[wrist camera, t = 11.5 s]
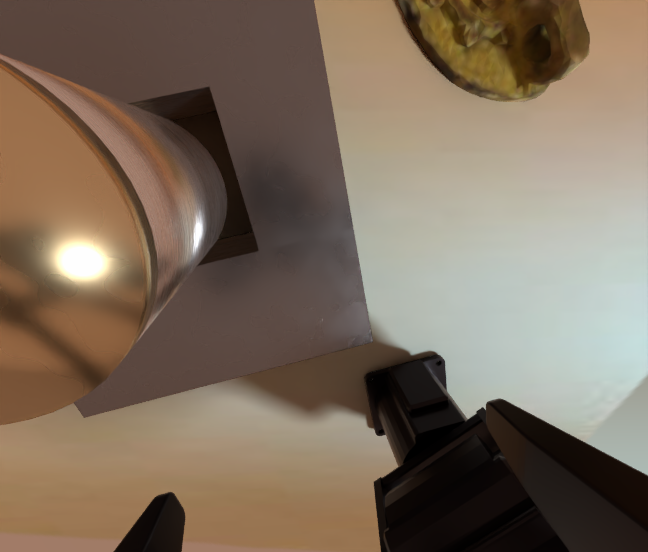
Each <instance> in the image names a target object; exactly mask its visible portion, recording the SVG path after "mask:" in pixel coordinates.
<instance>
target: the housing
mask: <svg viewBox="0 0 648 552" xmlns="http://www.w3.org/2000/svg"><path fill="white" fill-rule="evenodd" d="M0 54H2V55H4V56H7V57H9V58H12V59H14V60H17V61H20V62H22V63H25V64H27V65H30V66H32V67H35V68H37V69H40V70H43V71H45V72H48V73H50V74H53V75H55V76H58V77H61V78H63V79H66V80H68V81H71V82H73V83H76V84H79V85H81V86H84V87H86V88H89V89H91V90H94V91H97V92H99V93H102V94H104V95H107V96H109V97H112V98H115V99H117V100H120V101H122V102H125V103H127V104H130V105H133V106H135V107H138V108H140V109H143V110H145V111H148V112H150V113H153V114H156V115H158V116H161V117H163V118H165V119H168V120H170V121H171V120H175V119H180V118H185V117H190V116H194V115H199V114H204V113H208V112H213V111H217V113H218V116H219V120H220V123H221V126H222V130H223V133H224V136H225V139H226V143H227V146H228V149H229V153H230V156H231V159H232V163H233V166H234V169H235V173H236V176H237V179H238V182H239V186H240V189H241V192H242V196H243V199H244V202H245V206H246V209H247V212H248V216H249V219H250V222H251V226H252V229H253V232H250V233H246V234H242V235H237V236H233V237H229V238H225V239H220V240H217V241H216V242H215V244H214V245H213V246H212V248H211V249H210V250H209V251H208V253H207V254H206V255H205V256H204V258H203V259H202V260H201V262H200V263H199V264H198V265H197V267H196V268H195V269H194V270H193V272H192V273H191V274H190V275H189V277H188V278H187V279H186V280H185V282H184V283H183V284H182V286H181V287H180V288H179V289H178V291H177V292H176V293H175V294H174V296H173V297H172V298H171V299H170V301H169V302H168V303H167V305H166V306H165V307H164V308H163V310H162V311H161V312H160V313H159V315H158V316H157V317H156V318H155V320H154V321H153V322H152V323H151V325H150V326H149V327H148V329H147V330H146V331H145V332H144V334H143V335H142V336H141V337H140V339H139V340H138V341H137V342H136V344H135V345H134V346H133V347H132V349H131V350H130V351H129V353H128V354H127V355H126V356H125V358H124V359H123V360H122V361H121V363H120V364H119V365H118V366H117V367H116V368H115V370H114V371H113V372H112V373H111V374H110V375H109V376H108V377H107V379H106V380H104V381H103V382H102V383H101V384H100V385H98V386H97V387H96V388H95V389H94V390H92V391H91V392H90V393H88V394H87V395H85V396H83V397H82V398H80V399H78V400H77V401H75V402H74V404H75V405H76V407H77V408H78V410H79V411H80V412H81V414H82V415H83V417H84V418H85V417H88V416H92V415H96V414H100V413H104V412H107V411H111V410H115V409H119V408H123V407H126V406H130V405H134V404H138V403H142V402H146V401H149V400H153V399H157V398H161V397H165V396H168V395H172V394H176V393H180V392H184V391H188V390H191V389H195V388H199V387H203V386H207V385H210V384H214V383H218V382H222V381H226V380H229V379H233V378H237V377H241V376H245V375H249V374H252V373H256V372H260V371H264V370H268V369H271V368H275V367H279V366H283V365H287V364H291V363H294V362H298V361H302V360H306V359H310V358H313V357H317V356H321V355H325V354H329V353H332V352H336V351H340V350H344V349H348V348H352V347H355V346H359V345H363V344H367V343H371V342H373V340H372V334H371V328H370V322H369V316H368V311H367V305H366V299H365V293H364V287H363V282H362V276H361V270H360V264H359V258H358V253H357V247H356V241H355V235H354V230H353V224H352V218H351V212H350V206H349V201H348V195H347V189H346V183H345V177H344V172H343V166H342V160H341V154H340V148H339V143H338V137H337V131H336V125H335V120H334V114H333V108H332V102H331V96H330V91H329V85H328V79H327V73H326V67H325V62H324V56H323V50H322V44H321V39H320V33H319V27H318V21H317V15H316V10H315V4H314V0H0Z"/></svg>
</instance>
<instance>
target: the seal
mask: <svg viewBox="0 0 648 552" xmlns="http://www.w3.org/2000/svg"><path fill="white" fill-rule="evenodd" d="M398 1H399V4H400V7H401V10H402V11H403V14H404V17H405V20H406V21H407V23H408V24H409V26H410V28H411V31H412V33H413V34H414V36H415V37H416V38H417V39H418V40H419V42H420V44H421V45H422V47H423V49H424V50H425V52H426V53H427V55H428V56H429V58H430V59H431V60H432V62H433V63H434V64H435V65H436V66H437V67H438V68H439V69H440V70H441V72H442V73H443V74H444V75H445V76H446V77H447V78H448V79H449V81H451V82H452V83H454V84H455V85H457V86H458V87H460V88H462V89H464V90H465V91H467V92H469V93H471V94H474V95H477V96H479V97H484V98H487V99H490V100H495V101H503V102H522V101H527V100H530V99H533V98H536V97H538V96H540V95H541V94H542V93H543V92H545V90H546V89H547V87H548V86H549V85H550V83H553V82H555V81H558V80H561V79H563V78H565V77H566V76H567V75H568V74H570V73H571V72H572V71H573V70H575V69H576V68H577V67H578V66H579V65H580V64H581V63H582V62H583V61H584V59H585V58H586V57H587V56H588V54H589V43H590V36H589V32H588V29H587V27H586V24H585V21H584V18H583V15H582V11H581V7H580V4H579V0H398Z"/></svg>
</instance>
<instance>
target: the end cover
mask: <svg viewBox="0 0 648 552" xmlns="http://www.w3.org/2000/svg"><path fill="white" fill-rule="evenodd" d="M226 214H227V195H226V189H225V185H224V181H223V178H222V175H221V173H220V170H219V168H218V166H217V165H216V163H215V161H214V159H213V158H212V156H211V155H210V153H209V152H208V151H207V149H206V148H205V147H204V146H203V145H202V144H201V143H200V142H199V141H198V140H197V139H196V138H195V137H194V136H193V135H192V134H191V133H189V132H188V131H187V130H185V129H184V128H182V127H181V126H179V125H177V124H176V123H174V122H172V121H170V120H168V119H165V118H163V117H161V116H158V115H156V114H153V113H150V112H148V111H145V110H143V109H140V108H138V107H135V106H133V105H130V104H127V103H125V102H122V101H120V100H117V99H115V98H112V97H109V96H107V95H104V94H102V93H99V92H97V91H94V90H91V89H89V88H86V87H84V86H81V85H79V84H76V83H73V82H71V81H68V80H66V79H63V78H61V77H58V76H55V75H53V74H50V73H48V72H45V71H43V70H40V69H37V68H35V67H32V66H30V65H27V64H25V63H22V62H20V61H17V60H14V59H12V58H9V57H7V56H4V55H2V54H0V425H4V424H10V423H15V422H20V421H24V420H29V419H33V418H36V417H39V416H42V415H45V414H48V413H52V412H54V411H56V410H58V409H61V408H63V407H65V406H67V405H70V404H72V403H74V402H75V401H77V400H78V399H80V398H82V397H83V396H85V395H87V394H88V393H90V392H91V391H92V390H94V389H95V388H96V387H97V386H98V385H100V384H101V383H102V382H103V381H104V380H106V379H107V377H108V376H109V375H110V374H111V373H112V372H113V371H114V370H115V368H116V367H117V366H118V365H119V364H120V363H121V361H122V360H123V359H124V358H125V356H126V355H127V354H128V353H129V351H130V350H131V349H132V347H133V346H134V345H135V344H136V342H137V341H138V340H139V339H140V337H141V336H142V335H143V334H144V332H145V331H146V330H147V329H148V327H149V326H150V325H151V323H152V322H153V321H154V320H155V318H156V317H157V316H158V315H159V313H160V312H161V311H162V310H163V308H164V307H165V306H166V305H167V303H168V302H169V301H170V299H171V298H172V297H173V296H174V294H175V293H176V292H177V291H178V289H179V288H180V287H181V286H182V284H183V283H184V282H185V280H186V279H187V278H188V277H189V275H190V274H191V273H192V272H193V270H194V269H195V268H196V267H197V265H198V264H199V263H200V262H201V260H202V259H203V258H204V256H205V255H206V254H207V253H208V251H209V250H210V249H211V248H212V246H213V245H214V244H215V242H216V241H217V239H218V238H219V236H220V234H221V232H222V229H223V227H224V223H225V220H226Z"/></svg>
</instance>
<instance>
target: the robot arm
mask: <svg viewBox="0 0 648 552" xmlns="http://www.w3.org/2000/svg"><path fill="white" fill-rule="evenodd" d="M437 361H438V362H437ZM436 362H437V363H436ZM370 379H373V380H370ZM364 380H365V385H366V390H367V395H368V400H369V405H370V410H371V415H372V420H373V425H374V430H375V433H376V435H378V436H383V435H386V436H387V439H388V441H389V444H390V446H391V449H392V452H393V454H394V457H395V459H396V462H397V464H398V468H396V469H395V470H393V471H392V472H390V473H389V474H387V475H386V476H384V477H383V478H381V477H380V478H379V479H377V480H376V481H374V489H375V500H376V509H377V518H378V528H379V537H380V546H381V552H648V475H646V474H644V473H642V472H640V471H638V470H636V469H634V468H632V467H631V466H629V465H627V464H625V463H623V462H621V461H619V460H617V459H615V458H614V457H612V456H609V455H608V454H606V453H604V452H602V451H600V450H598V449H596V448H595V447H593V446H591V445H589V444H587V443H585V442H583V441H581V440H579V439H577V438H576V437H574V436H572V435H570V434H568V433H566V432H564V431H562V430H560V429H559V428H557V427H555V426H553V425H551V424H549V423H547V422H545V421H543V420H541V419H540V418H538V417H536V416H534V415H532V414H530V413H528V412H526V411H524V410H522V409H521V408H519V407H517V406H515V405H513V404H511V403H509V402H507V401H505V400H503V399H495V400H492V401H488V402H487V404H486V410H485V409H484V408H483V407H482V408H481V409H479V410H478V411H477V412H476V413H477V414H475V415H474V416H472V417H471V418H469V419H467V418H466V417H465V415H464V414H463V412H462V411H461V410H460V408H459V407H458V406H457V404H456V403H455V402H454V400H453V399H452V397H451V396H450V395H449V393H448V392H447V387H446V372H445V361H444V359H443V358H442V357H441V356H440V355H434V356H431V357H427V358H423V359H420V360H416V361H412V362H408V363H405V364H401V365H397V366H393V367H390V368H386V369H382V370H378V371H375V372H371V373H368V374H367V375H366V376H365V379H364ZM380 429H381V430H380ZM184 525H185V512H184V509H183V507H182V505H181V504H180V502H179V501H178V499H177V497H176V496H175V494H174V493H172V492H168V493H165V494H161V495H158V496H156V497H155V498H154V499H153V500H152V502H151V503H150V504H149V506H148V507H147V508H146V510H145V511H144V512H143V513H142V515H141V516H140V517H139V519H138V520H137V521H136V523H135V524H134V525H133V527H132V528H131V529H130V531H129V532H128V533H127V535H126V536H125V537H124V539H123V540H122V541H121V543H120V544H119V545H118V547H117V548H116V549H115V551H114V552H181V551H182V543H183V534H184Z"/></svg>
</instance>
